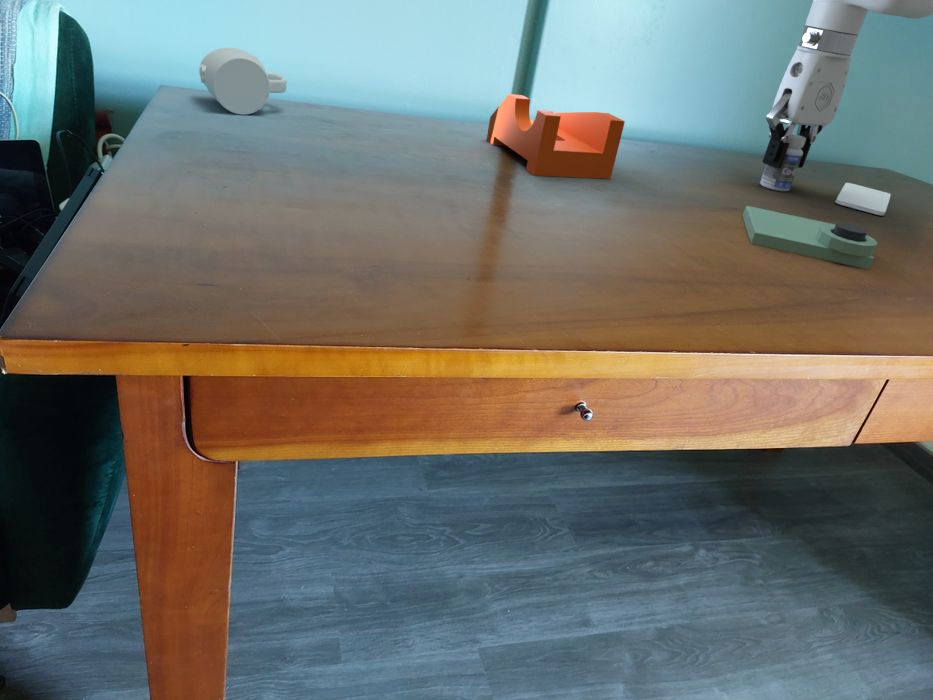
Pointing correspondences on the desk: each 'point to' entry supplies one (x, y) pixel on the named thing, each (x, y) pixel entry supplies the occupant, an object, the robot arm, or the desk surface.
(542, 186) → the desk surface
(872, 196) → the smartphone
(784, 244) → the scale
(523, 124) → the tape dispenser
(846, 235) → the scale button
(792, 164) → the pill bottle
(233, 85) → the mug
